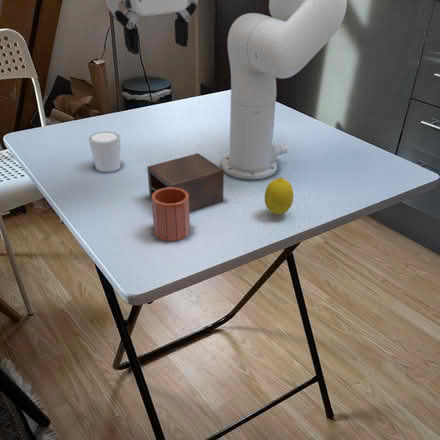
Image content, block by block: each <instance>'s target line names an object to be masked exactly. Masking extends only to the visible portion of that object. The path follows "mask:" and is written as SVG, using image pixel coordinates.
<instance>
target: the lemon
mask: <svg viewBox="0 0 440 440" xmlns="http://www.w3.org/2000/svg"><path fill="white" fill-rule="evenodd" d="M293 202H294V189H293V186H292V184H291V182H289V181H288V180H287V179H284V178H283V177H278V178H275V179H273V180H271V181H270V182H268V184H267V186H266V188H265V191H264V204H265V207H266V208H267V210H268V211H269V212H271V213H272V214H274V215H275V216H279V215H283V214H285V213H286V212H287V211H289V210H290V208H291V207H292V205H293Z"/></svg>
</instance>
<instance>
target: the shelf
mask: <svg viewBox="0 0 440 440" xmlns="http://www.w3.org/2000/svg"><path fill="white" fill-rule="evenodd" d="M146 169H147V181H148V193H149V199H151V200H152V194H153V193H154V192H155V191H156V190H159V189H162V188H166V187H176V188H180V189H183V190H185V191H186V192H188V194H189V213H192V212H195V211H199V210H201V209H205V208H208V207H212V206H213V205H216V204H220V203H223V202H224V183H225V182H224V181H225V176H224V175H225V171H224V170H223V168H221V167H220V166H218V165H216V164H215V163H214V162H212V161H210V160H209V159H208V158H206V157H205V156H203V155H202V154H201V153H199V152H196V153H193V154H190V155H186V156H182V157H178V158H174V159H169V160H167V161H163V162H158V163H155V164H151V165H147V166H146Z"/></svg>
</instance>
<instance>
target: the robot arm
mask: <svg viewBox="0 0 440 440" xmlns="http://www.w3.org/2000/svg"><path fill="white" fill-rule="evenodd" d="M122 1H123V3H124V8H125V11H124V13H123V12H122V11H121V7H120V6H119V4H120V3H121V2H122ZM198 2H199V0H105V4H106V5H107V7H108V9H109V11H110V12H111V15H112V17H113V18H114V19H115V20H116V21H117V22H118V23H119V24H120V25H121V26H122V27H123V36H124V45H125V48H126V50H127V51H128V52H129V53H131V54H133V55H139V53H140V48H139V47H140V46H139V34H138V29H137V28H135V25H136V23H137V22H138V20H139V18H140V17H141V16H142V17H150V16H158V15H168V14H174V15H175V16H176V18H175V19H174V42H175V44H176V45H178V46H181V47H183V48H187V47H188V40H189V22H191V20H192V16H193V14H194V12H195V11H196V10H197V5H198ZM347 7H348V0H269V2H268V10H269V14H270V15H271V16H269V15H265V14H262V13H257V12H248V13H244V14H242V15H240V16H238V17H237V18H236V19H235V20H234V21H233V23H232V24H231V26H230V28H229V31H228V35H227V54H228V61H229V68H230V108H229V109H230V114H229V150H228V151H229V152H228V155H227V156H226V157H225V158H223V160H222V162H221V167H222V168H221V169H223V170H224V173H225V174H227V175H229V176H231V177H234V178H236V179H242V180H260V179H261V180H262V179H265V178H268V177H271V176H273V175H275V173H276V172H277V170H278V162H277V161H276V159H275V158H277V157H278V156H281V155H284V154H286V153H288V150H289V149H288V145H286V144H282V145H279V146H277V145H276V143H273V138H274V126H275V115H276V101H277V79H282V80H283V79H288V78H291V77H293V76H295V75H296V74H298V73H299V72H300V71H301V70H303V68H305V67H306V65H307V64H308V63H309V62H310V61H312V59H313V58H314V57H315V56H316V55H317V54H318V53H319V51H320V50H321V49H323V47H325V45H326V44H327V43H328V42H329V41H330V40H331V39H332V37H334V35H336V33H337V32H338V31H339V29H340V27H341V25H342V23H343V20H344V19H345V15H346V12H347Z"/></svg>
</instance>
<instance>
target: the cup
mask: <svg viewBox="0 0 440 440" xmlns="http://www.w3.org/2000/svg"><path fill="white" fill-rule="evenodd" d="M151 207H152V221H153V233H154V236H155V237H156V238H157V239H159V240H162V241H166V242H177V241H180V240H184V239H186V238H187V237H188V236H189V235H190V233H191V230H190V229H191V228H190V226H191V224H190V212H189V194H188V192H186V191H185V190H183V189H180V188H176V187H166V188H162V189H159V190H156V191H155V192H154V193H153V194H152V199H151Z"/></svg>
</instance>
